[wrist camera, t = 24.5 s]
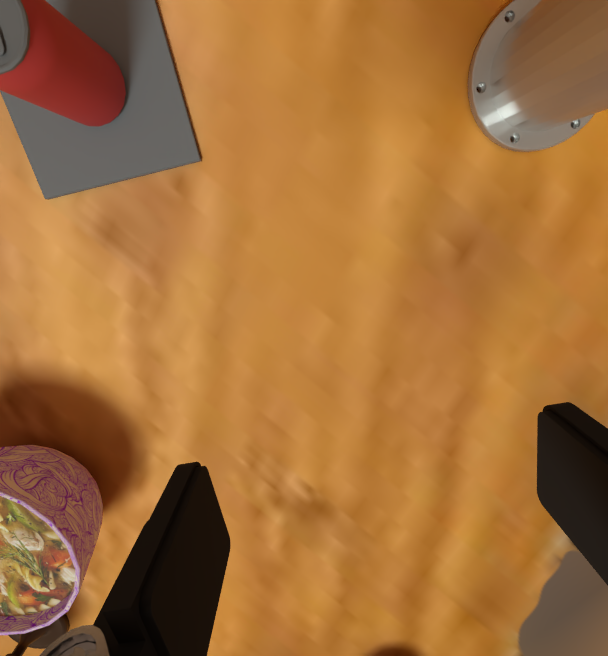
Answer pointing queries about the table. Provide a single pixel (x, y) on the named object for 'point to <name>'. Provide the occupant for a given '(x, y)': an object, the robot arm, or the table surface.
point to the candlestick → (40, 636)
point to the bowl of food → (43, 534)
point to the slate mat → (134, 118)
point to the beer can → (57, 64)
